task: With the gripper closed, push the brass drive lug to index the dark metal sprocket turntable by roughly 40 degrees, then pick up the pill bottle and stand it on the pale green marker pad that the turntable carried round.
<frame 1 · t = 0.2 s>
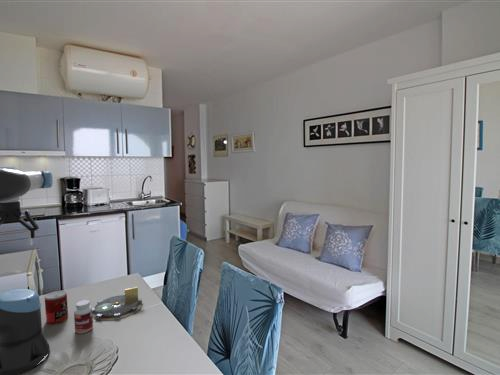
hand: (12, 247, 132), 28 cm above the table, fingers open, 13 cm apart
sprocket: (116, 299, 130), point 4 cm above the table, hinge at 0.0°
base: (117, 308, 131), on the table
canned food: (57, 319, 122), on the table
pill bottle: (84, 330, 114), on the table
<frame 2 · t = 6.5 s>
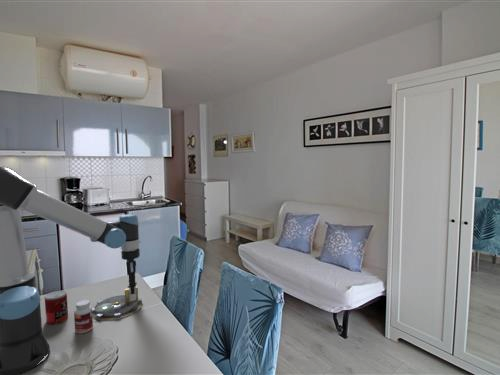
hand: (133, 299, 131), 4 cm above the table, fingers closed
sprocket: (116, 299, 130), point 4 cm above the table, hinge at 0.8°, touching gripper
everything else where it was.
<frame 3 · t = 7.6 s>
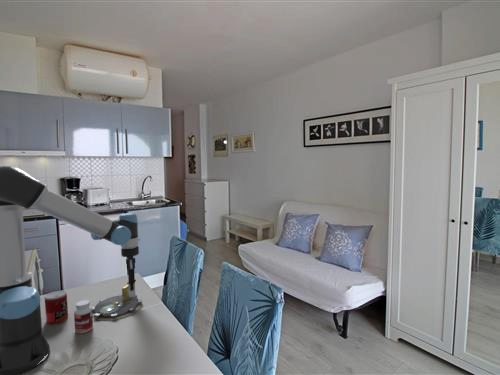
hand: (132, 296, 135), 3 cm above the table, fingers closed
sprocket: (116, 299, 130), point 4 cm above the table, hinge at 38.4°, touching gripper
everything else where it was.
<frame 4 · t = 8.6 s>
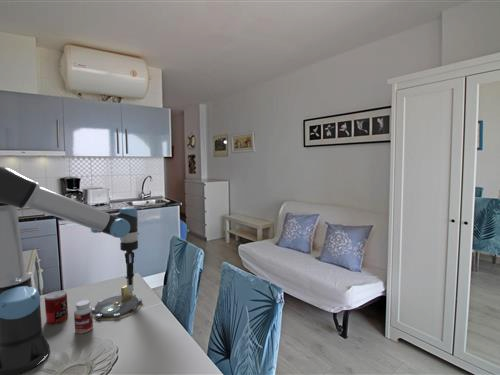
hand: (130, 290, 134), 6 cm above the table, fingers closed
sprocket: (116, 299, 130), point 4 cm above the table, hinge at 44.3°
everything else where it was.
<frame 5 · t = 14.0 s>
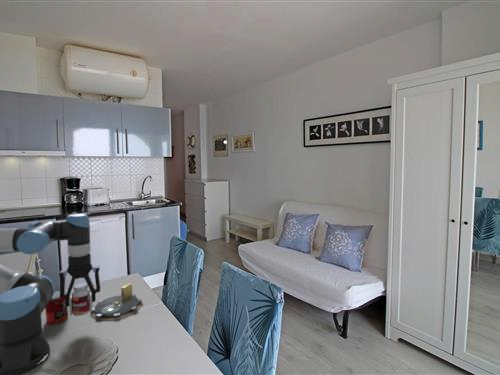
hand: (81, 311, 113), 7 cm above the table, fingers closed on pill bottle, 6 cm apart
pill bottle: (81, 312, 113), point 7 cm above the table, touching gripper
everything else where it was.
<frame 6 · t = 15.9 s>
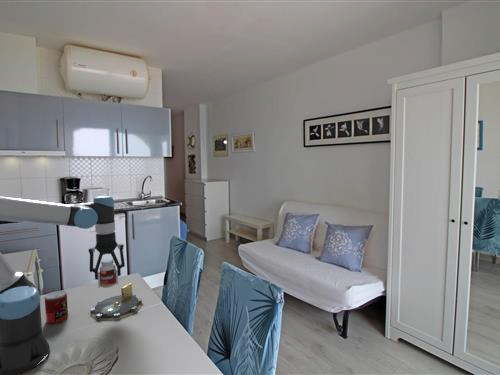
hand: (108, 284, 125), 13 cm above the table, fingers closed on pill bottle, 6 cm apart
pill bottle: (108, 285, 125), point 13 cm above the table, touching gripper
everything else where it was.
when the fingers open (3 cm above the table, at t = 17.8 s): pill bottle stays where it is, resting on sprocket.
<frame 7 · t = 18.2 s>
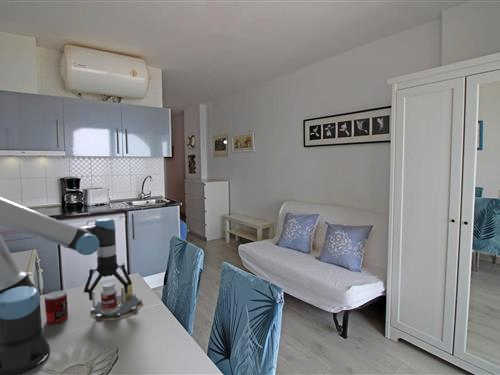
hand: (109, 303, 126), 5 cm above the table, fingers open, 11 cm apart
sprocket: (116, 299, 130), point 4 cm above the table, hinge at 44.1°, touching pill bottle
pill bottle: (109, 309, 126), point 2 cm above the table, touching sprocket
everything else where it was.
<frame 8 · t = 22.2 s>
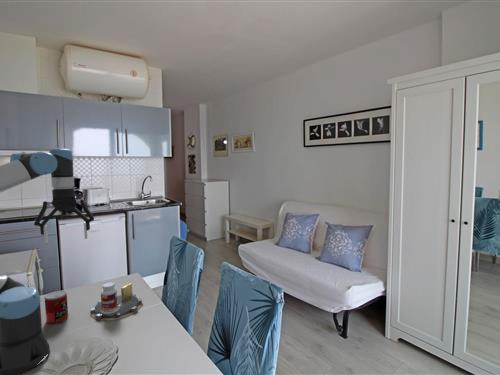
hand: (66, 240, 116), 35 cm above the table, fingers open, 13 cm apart
nothing on the table moved.
at the end: sprocket at +44° (first picture: +0°); pill bottle inside the target area on the sprocket (0.2 cm from its centre), point 2.0 cm above the sprocket's base; pill bottle tilted 0° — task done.
